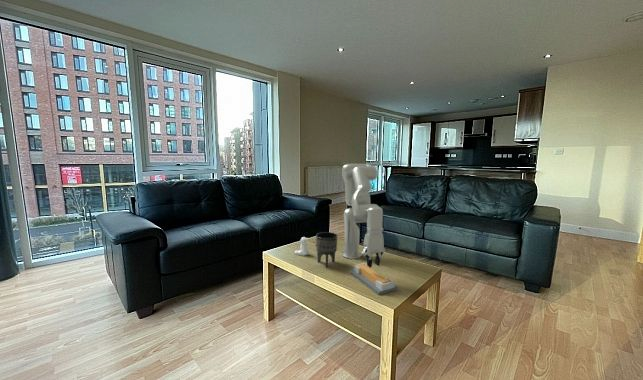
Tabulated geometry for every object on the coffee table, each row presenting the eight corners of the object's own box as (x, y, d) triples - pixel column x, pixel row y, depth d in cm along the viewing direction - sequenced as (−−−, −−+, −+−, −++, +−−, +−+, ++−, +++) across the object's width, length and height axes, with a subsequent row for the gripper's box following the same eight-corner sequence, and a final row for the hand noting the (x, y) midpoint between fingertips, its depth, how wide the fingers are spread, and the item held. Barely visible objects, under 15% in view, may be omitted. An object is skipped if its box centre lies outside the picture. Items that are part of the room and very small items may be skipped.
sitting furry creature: (305, 250, 177) (305, 233, 176) (313, 254, 171) (313, 236, 170) (293, 254, 171) (293, 236, 170) (301, 257, 165) (301, 239, 163)
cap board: (350, 273, 143) (350, 265, 142) (367, 269, 148) (368, 262, 148) (378, 294, 121) (378, 285, 120) (398, 289, 126) (398, 280, 125)
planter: (311, 265, 153) (311, 236, 151) (321, 257, 165) (322, 230, 163) (331, 269, 147) (331, 239, 145) (340, 261, 159) (340, 233, 157)
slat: (356, 271, 143) (357, 265, 142) (362, 269, 144) (363, 263, 144) (382, 289, 123) (382, 282, 122) (389, 287, 125) (389, 280, 124)
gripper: (382, 227, 138) (381, 260, 140) (356, 231, 131) (355, 265, 133) (392, 231, 131) (391, 265, 133) (364, 234, 124) (363, 271, 126)
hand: (373, 265), depth 133 cm, fingers open, 4 cm apart
